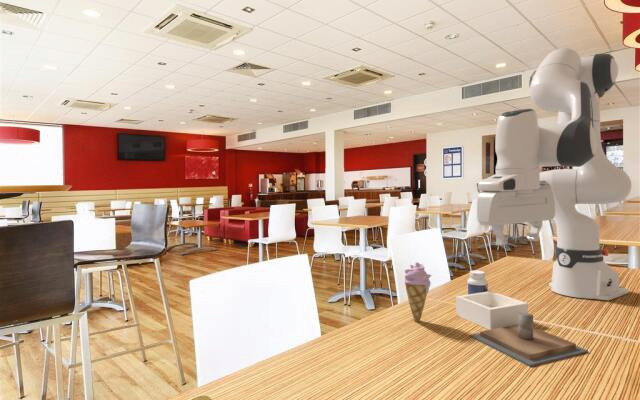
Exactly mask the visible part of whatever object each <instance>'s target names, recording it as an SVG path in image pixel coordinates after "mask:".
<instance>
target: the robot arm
mask: <svg viewBox="0 0 640 400" xmlns="http://www.w3.org/2000/svg"><path fill="white" fill-rule="evenodd" d="M618 74H619V67H618V63H617V61H616V60H615V57H614V56H613V55H611V54H610V53H595V55H587V56H581V55H580V54H579V53H578V52H577V51H576V50H574V49H571V48H566V47H563V48H562V47H561V48H557V49H554V50H553V51H551V52H549V53H548V54H547V55H546V56H545V57H544V58H543V60H542V61H541V62H540V64H539V65H538V66H537V69H536V70H534V72H532V74H531V76H530V77H529V81H528V82H529V84H528V88H529V92H528V93H529V97H530V100H531V101H532V103H533V104H534V105H535V106H536V107H538V108H539V109H542V110H543V111H547V112H550V113H551V112H553V113H558V114H557V123H554V124H545V125H539V123H538V116H537V111H536V110H535V109H532V108H523V109H517V110H516V109H515V110H510V111H505V112H503V113H501V114H499V116H498V117H497V122H496V129H495V139H494V140H495V141H494V142H495V143H494V144H495V145H494V146H495V147H494V148H495V149H494V150H495V154H496V157H497V158H496V159H497V160H496V164H495V174H493V175H491V176H489V177H487V178H485V179H482V180H481V181H478V183H477V190H478V191H480V193H478V196H477V201H476V202H477V203H476V219H477V221H478V223H479V224H480V225H481V226H488V227H491V231H492V232H493V235H495V238H496V239H495V241H496V242H495V243H496V244H497V245H499V246H504V245H508V236H505V234H504V232H503V230H505V225H514V224H524V223H526V224H527V223H530V224H529V225H530V226H531V227H530V229H529V230H530V231H529V232H527V233H526V235H527V236H526V239H527V241H529V242H537V241H539V234H540V231H541V230H542V227H543V221H544V222H545V221H553V220H554V222H555V227H556V228H555V230H556V246H555V250H554V254H555V255H554V256H555V259H556V260H555V261H554V262H553V267H552V273H551V281H550V282H549V283H548V286H549V287H550V290H551V292H554V293H556V294H559V295H563V296H566V297H570V298H571V297H573V298H579V299H592V300H599V301H600V300H601V301H610V300H615V299H617V298H618V297H621V296H625V295H626V294H629V293H630V290H629V289H628V288H626V287H623V286H621V285H620V276H619V273H618V272H617V271H616V270H615V269H613V268H612V267H611V266H610V265H609V264H608V263H606V262H605V261H604V260H605V259H604V256H605V257H608V256H609V254H610V251H609V249H603V248H600V225H599V223H598V222H597V221H596V220H595V219H594V218H592V217H590V216H588V215H586V214H583V213H581V212H579V211H578V210H577V208H576V205H578V204H579V205H589V204H590V205H605V204H606V205H607V204H614V203H619V202H623V201H624V200H625V199H626V198H627V197H628V196H629V195H630V193H631V191H632V180H631V177H630V176H629V175H628V173H627V172H626V171H624V170H623V169H622V168H620V167H618V166H616V165H615V164H613V162H611V160H610V159H609V158H608V157H607V155H606V154H605V152H604V149H603V146H602V138H601V110H600V103H599V99H601V98H602V97H604V95H605V93H606V92H608V91H610V90H611V89H612V88H613V86H614V85H615V83H616V80H617V78H618ZM542 167H543V168H544V167H570V168H566V169H564V168H563V169H551V170H550V169H549V170H545V171H541V172H540V170H541V169H540V168H542ZM571 167H574V168H571ZM576 167H578V168H576Z"/></svg>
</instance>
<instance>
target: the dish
mask: <svg viewBox="0 0 640 400" xmlns="http://www.w3.org/2000/svg"><path fill="white" fill-rule="evenodd" d="M528 305H529V303H528V302H525V301H522V300H520V299H516V298H513V297H510V296H507V295H503V294H500V293H498V292H495V291H491V290H489V291H488V292H482V293H475V294H468V293H467V294H463V295H457V296H456V295H455V315H456V316H458V317H460V318H463V319H465V320H467V321H469V322H471V323H474V324H476V325H478V326H480V327H482V328H485V329H486V330H491V329H496V328H501V327H507V326H512V325H517V324H519V313H529V306H528Z"/></svg>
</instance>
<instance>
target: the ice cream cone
mask: <svg viewBox="0 0 640 400" xmlns="http://www.w3.org/2000/svg"><path fill="white" fill-rule="evenodd" d="M409 267H410V268H409V269H404V273H405V274H404V285H405V291H406V295H407V299H408V303H409V306H410V311H411V314H412V317H413V320H414V322H415V323H419V322H420V321H421V318H422V315H423V310H424V307H425V303H426V298H427V295H428V293H429V289H430V288H431V284H432V283H431V281H430V278H431V277H432V275H433V274H428V273H427V271H426V270H425V266H424V264H422V263H419V262H415V265H413V264H411V265H410V266H409Z"/></svg>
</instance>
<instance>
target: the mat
mask: <svg viewBox="0 0 640 400" xmlns="http://www.w3.org/2000/svg"><path fill="white" fill-rule="evenodd" d="M469 336H470V337H471V338H472V339H475V340H477V341H478V342H480V343H482V344H484V345H486V346H488V347H490V348H492V349H494V350H496V351H498V352H500V353H502V354H504V355H506V356H508V357H510V358H512V359H513V360H516V361H517V362H520V363H522V364H524V365H526V366H528V367H535V366H539V365H543V364H546V363H547V364H548V363H550V362H555V361H558V360H563V359H567V358H570V357H574V356H578V355H583V354H586V353H589V350H587V349H585V348H583V347H580V346H578V345H576V349H572V350H568V351H564V352H560V353H556V354H552V355H548V356H544V357H539V358H535V359H531V360H529V359H527V358H525V357H522V356H520V355H518V354H516V353H514V352H512V351H510V350H508V349H506V348H504V347H502V346H500V345H498V344H496V343H494V342H492V341H490V340H487V339H485V338H483V337H481V336H480V332H477V333H471V334H469ZM582 353H583V354H582Z"/></svg>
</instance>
